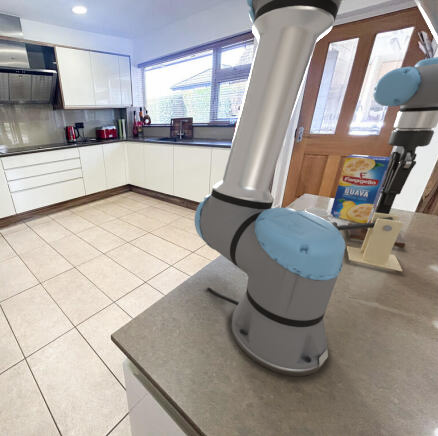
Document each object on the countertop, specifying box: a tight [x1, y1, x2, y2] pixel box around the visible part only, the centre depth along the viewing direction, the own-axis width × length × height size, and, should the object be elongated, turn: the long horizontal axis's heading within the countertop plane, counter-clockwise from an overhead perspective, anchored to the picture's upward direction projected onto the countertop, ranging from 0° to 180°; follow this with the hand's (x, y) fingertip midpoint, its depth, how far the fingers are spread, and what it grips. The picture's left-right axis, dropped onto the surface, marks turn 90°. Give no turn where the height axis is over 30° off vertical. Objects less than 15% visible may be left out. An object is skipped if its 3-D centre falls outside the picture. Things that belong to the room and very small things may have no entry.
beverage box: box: [330, 154, 390, 224], centre depth 83 cm, size 7×11×22 cm, turn 37°
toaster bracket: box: [346, 211, 404, 272], centre depth 60 cm, size 10×8×13 cm
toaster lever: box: [330, 217, 393, 231], centre depth 61 cm, size 12×6×2 cm, turn 56°
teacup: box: [303, 207, 334, 222], centre depth 83 cm, size 10×10×5 cm
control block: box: [347, 223, 406, 248], centre depth 72 cm, size 12×9×4 cm
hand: (381, 214), depth 69 cm, fingers closed
